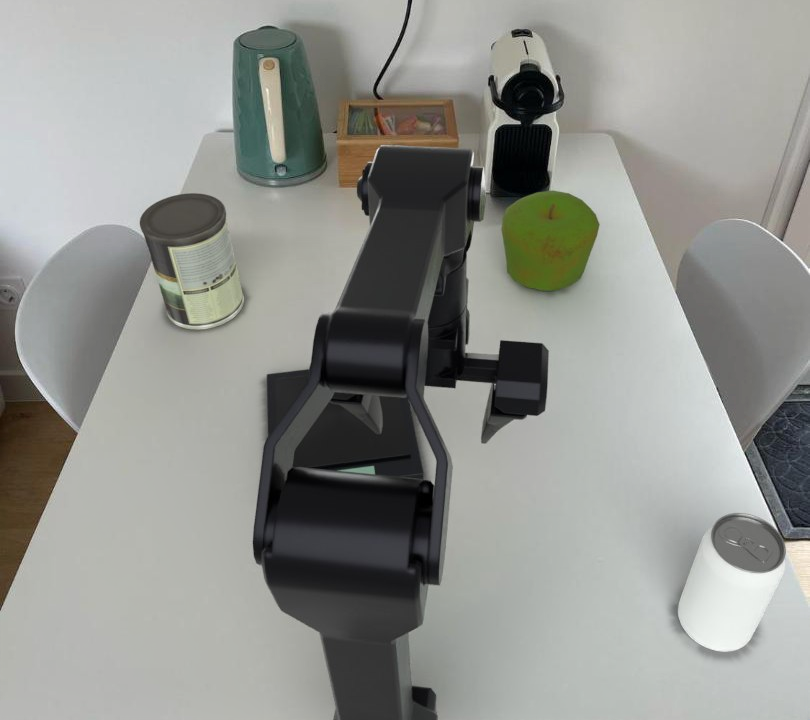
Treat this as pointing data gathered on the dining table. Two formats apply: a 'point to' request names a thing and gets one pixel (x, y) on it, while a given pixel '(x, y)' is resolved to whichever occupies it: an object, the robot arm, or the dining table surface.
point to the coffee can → (193, 260)
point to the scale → (349, 433)
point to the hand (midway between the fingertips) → (431, 434)
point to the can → (731, 581)
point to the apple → (548, 239)
